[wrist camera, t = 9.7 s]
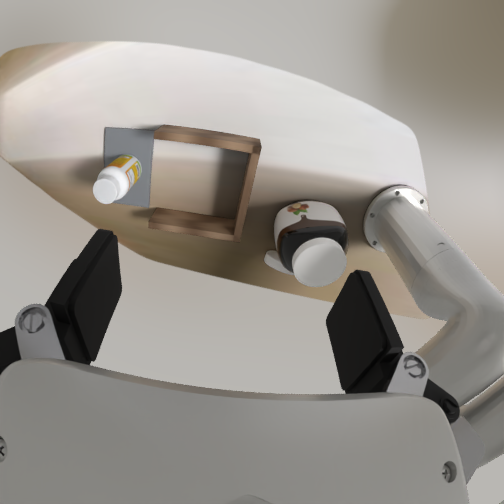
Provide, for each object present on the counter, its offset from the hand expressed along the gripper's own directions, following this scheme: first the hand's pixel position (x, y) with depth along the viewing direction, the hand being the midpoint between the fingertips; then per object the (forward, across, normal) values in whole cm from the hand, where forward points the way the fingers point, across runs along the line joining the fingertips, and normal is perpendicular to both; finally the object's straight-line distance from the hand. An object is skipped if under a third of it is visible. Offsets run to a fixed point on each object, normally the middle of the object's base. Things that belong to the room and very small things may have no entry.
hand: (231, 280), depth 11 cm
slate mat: (+30, +16, +8) cm, 35 cm away
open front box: (+30, +4, +8) cm, 32 cm away
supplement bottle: (+30, +15, +8) cm, 35 cm away
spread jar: (+31, -12, +14) cm, 36 cm away
